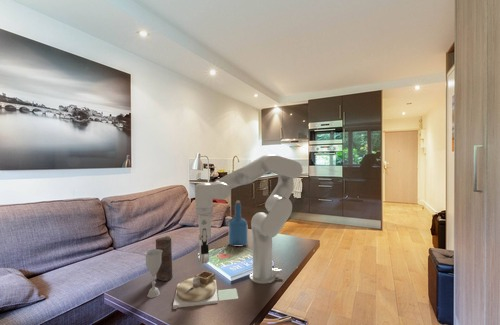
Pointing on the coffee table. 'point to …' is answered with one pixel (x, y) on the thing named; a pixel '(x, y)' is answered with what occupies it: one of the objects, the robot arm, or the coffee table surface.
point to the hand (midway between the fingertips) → (204, 251)
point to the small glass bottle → (203, 257)
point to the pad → (227, 294)
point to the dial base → (182, 303)
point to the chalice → (153, 269)
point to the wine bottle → (238, 228)
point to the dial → (197, 287)
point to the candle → (165, 258)
